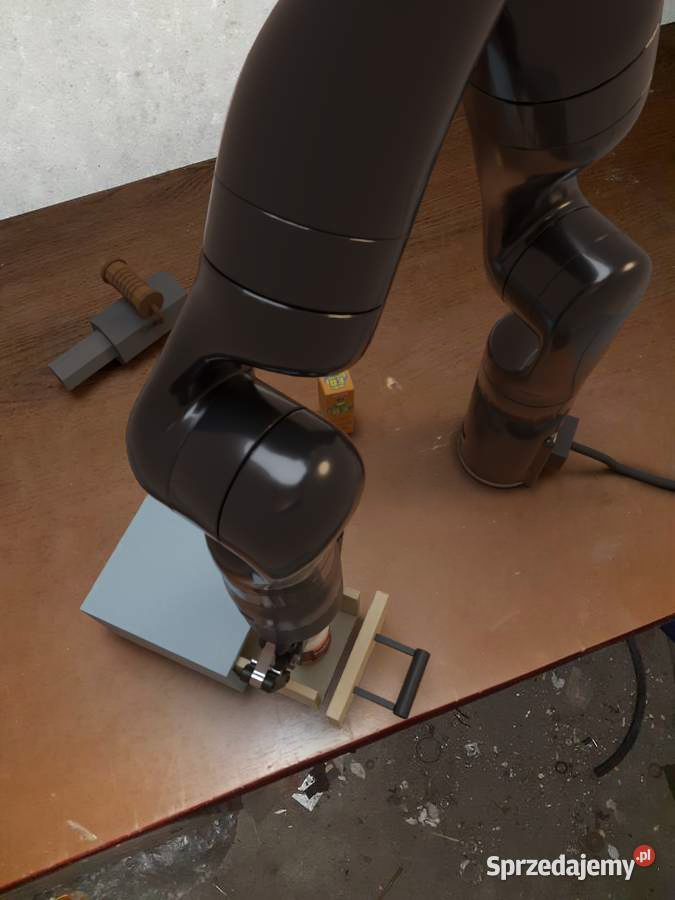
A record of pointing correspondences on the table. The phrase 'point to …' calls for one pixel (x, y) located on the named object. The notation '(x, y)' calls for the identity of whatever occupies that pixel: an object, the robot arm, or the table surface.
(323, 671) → the drawer
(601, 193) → the table surface
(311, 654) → the pill bottle
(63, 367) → the mechanical component
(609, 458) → the robot arm
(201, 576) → the blue drawer cabinet
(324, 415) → the supplement box
